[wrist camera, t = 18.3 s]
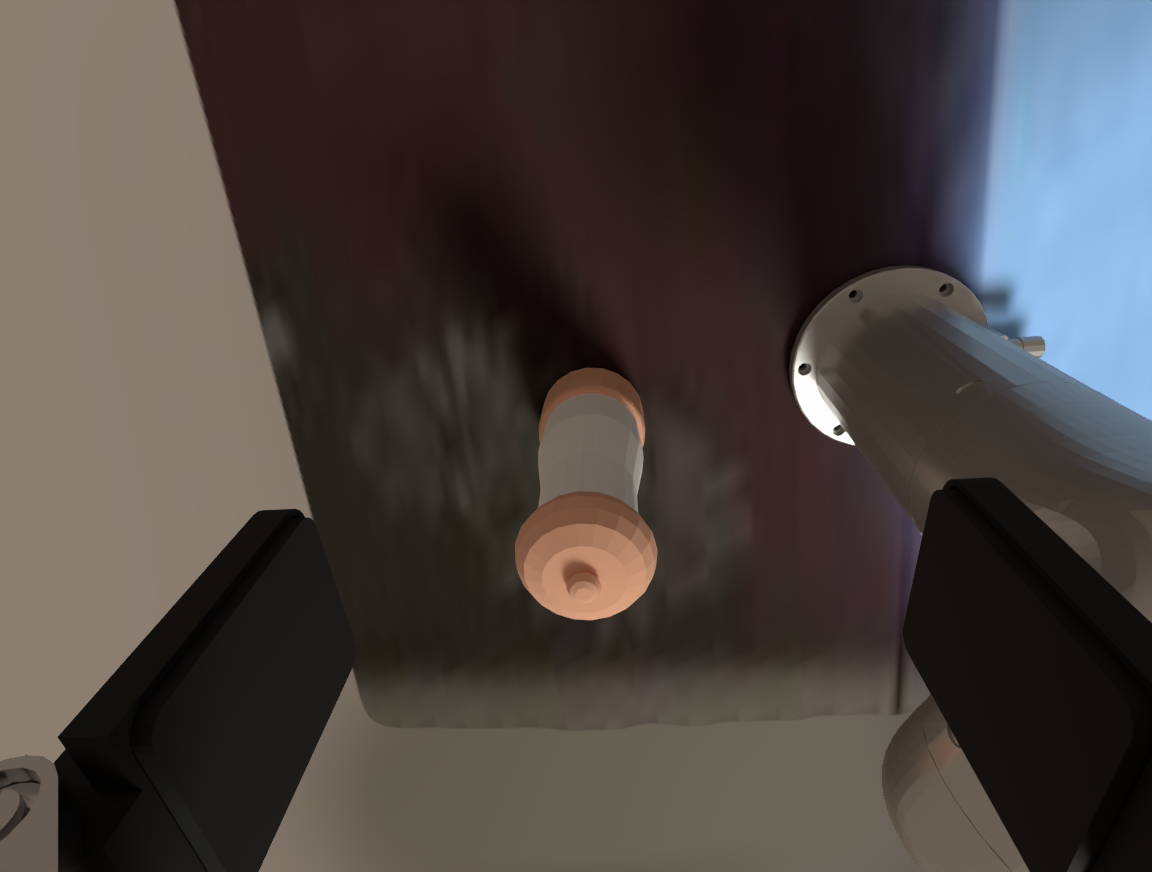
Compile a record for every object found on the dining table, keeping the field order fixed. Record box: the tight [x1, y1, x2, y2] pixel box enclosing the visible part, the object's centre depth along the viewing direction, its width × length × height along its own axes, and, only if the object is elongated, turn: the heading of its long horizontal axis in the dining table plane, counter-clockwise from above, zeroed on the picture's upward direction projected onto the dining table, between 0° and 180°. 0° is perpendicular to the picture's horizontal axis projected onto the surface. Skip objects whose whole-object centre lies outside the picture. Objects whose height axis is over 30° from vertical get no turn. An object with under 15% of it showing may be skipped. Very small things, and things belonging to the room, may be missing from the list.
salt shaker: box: [515, 368, 657, 620], centre depth 37 cm, size 7×7×19 cm
